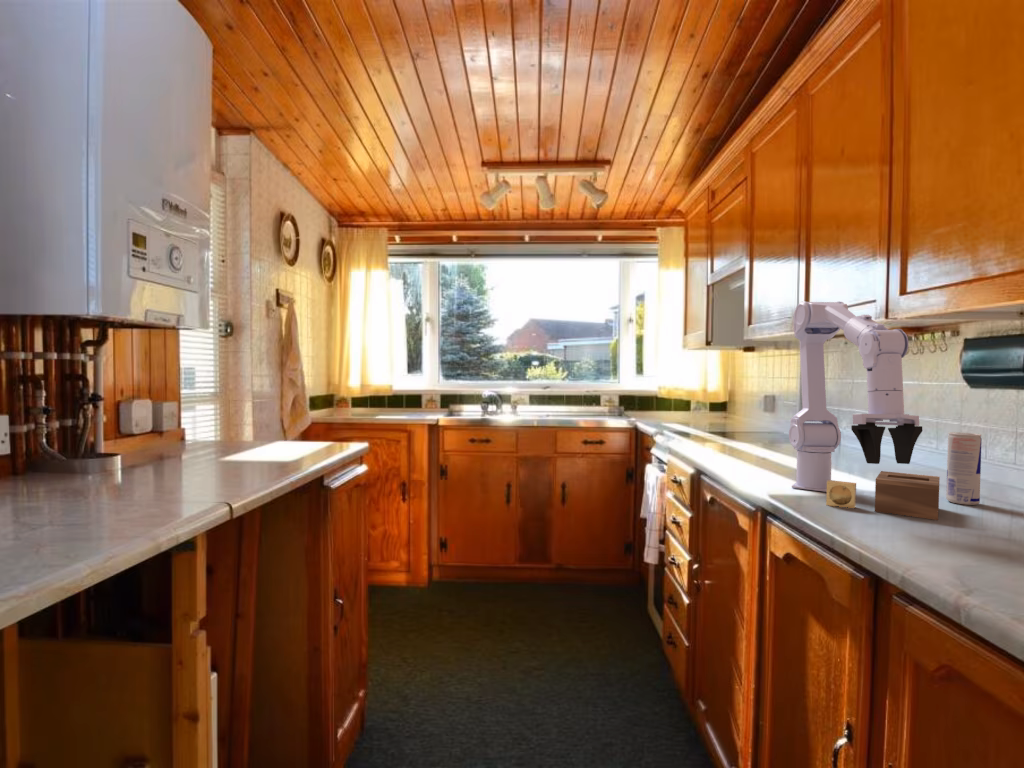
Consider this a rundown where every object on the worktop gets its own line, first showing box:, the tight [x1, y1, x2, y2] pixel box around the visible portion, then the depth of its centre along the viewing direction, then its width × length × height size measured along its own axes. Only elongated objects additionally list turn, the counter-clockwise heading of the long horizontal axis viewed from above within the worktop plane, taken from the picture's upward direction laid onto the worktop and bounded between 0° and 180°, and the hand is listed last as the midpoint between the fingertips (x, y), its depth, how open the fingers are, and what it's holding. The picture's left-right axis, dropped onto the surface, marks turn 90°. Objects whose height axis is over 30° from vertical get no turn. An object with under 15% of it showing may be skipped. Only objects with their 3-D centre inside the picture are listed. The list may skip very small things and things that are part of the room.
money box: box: [874, 470, 941, 521], centre depth 114 cm, size 12×10×6 cm
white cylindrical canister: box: [945, 431, 982, 506], centre depth 122 cm, size 6×6×15 cm
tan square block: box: [825, 479, 857, 509], centre depth 117 cm, size 2×5×5 cm, turn 52°
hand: (888, 463), depth 108 cm, fingers open, 7 cm apart
